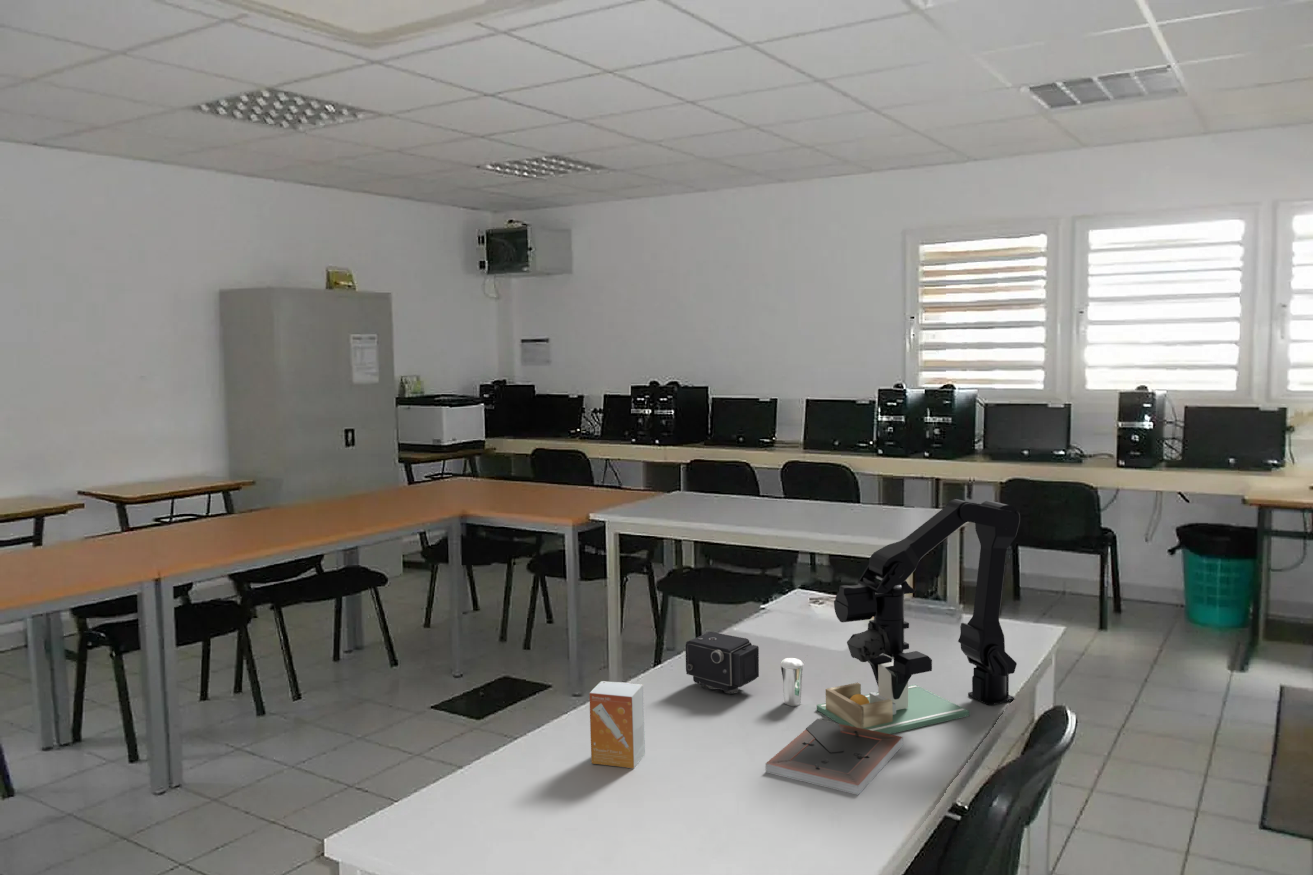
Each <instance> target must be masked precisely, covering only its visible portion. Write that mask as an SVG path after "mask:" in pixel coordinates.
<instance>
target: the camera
mask: <svg viewBox="0 0 1313 875" xmlns="http://www.w3.org/2000/svg"><path fill="white" fill-rule="evenodd" d="M759 649H760V648H759V646H758V645H755V644H752V642H751V641H750V640H749V639H748V638H745V637H742V636H736V635H728V634H726V633H725V634H723V633H719V632H714V631H707V632H706V633H703V634H701V635H700V636H697V637H695V638H693V639H691V640H688V641H686V642H685V672H686V675H687V676H692V677H693V679H692V680H693V682H694V683H697V684H699V683H700V685H703V687H706V688H707V689H711V690H719V689H720V690H723V692H724V693H726V694H736V693H738V692H739V688H741V687H743V686H746V685H748V684H750V683H751V682H753V681H755V680H757V679H758V678H759V677H760V672H759V671H760V668H759V667H760V665H759V664H760V662H759V661H760V660H759V657H760V656H759V654H760V653H759Z"/></svg>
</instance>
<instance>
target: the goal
mask: <svg viewBox="0 0 1313 875" xmlns="http://www.w3.org/2000/svg"><path fill="white" fill-rule="evenodd" d="M861 687H862V684H861V683H860V682H854V683H847V684H843V685H838V686H832V687H829V688H825V703H826V709H827V710H829V711H830V712H832V713H834V714H835V715H837V716H839V717H840V718H842V719H844V720H845V721H847V722H849V723H850V724H852V725H853V726H855V727H857V728H866V727H870V726H875V725H879V724H884V723H888V722H893V704H892V700H890V699H887V700H882V701H878V702H873V703H868V704H864V705H859V704H857V703H856V702H854V701H852V700H850V698H851V697H852V696H853V695H855V694H862V692H861V690H862V689H861Z"/></svg>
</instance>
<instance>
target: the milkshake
mask: <svg viewBox="0 0 1313 875" xmlns="http://www.w3.org/2000/svg"><path fill="white" fill-rule="evenodd" d="M807 657H808V655H806V657H805V658H804V659H805V660H804V662H803V661H802V660H800V659H799V658H796V657H795V658H794V657H786V658H783V659H782V661H781V662H780V673H781V681H782V682H781V683H782V693H783V694H782V695H783V703H784V704H785V705H786V706H789V707H797V706H799V705H801V704H802V689H803V688H802V687H803V685H802V684H803V672H804V671H803V670H804V664H805V662H806V659H807Z"/></svg>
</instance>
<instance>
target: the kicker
mask: <svg viewBox="0 0 1313 875" xmlns="http://www.w3.org/2000/svg"><path fill="white" fill-rule="evenodd" d="M893 663H894V661H892V662H889V663H884V664H879V665H878V685H877V690H878V694H877V692H875V691H872V692H871V691H870V692H869V694H870V703H873V702H878V701H882V700H887V699H890V700H892V704H893V715H894V714H896V710H900V709H904V708H908V686H909V682H908V683H907V684H906V686H905V688H904V690H903V692H902V694H901V696H900V698H899V699H896V700H895V699H894V698H893V692H892V680H891V673H890V672H889V671H888V670H887V669H886V668H885V667H889V666H893Z"/></svg>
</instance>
